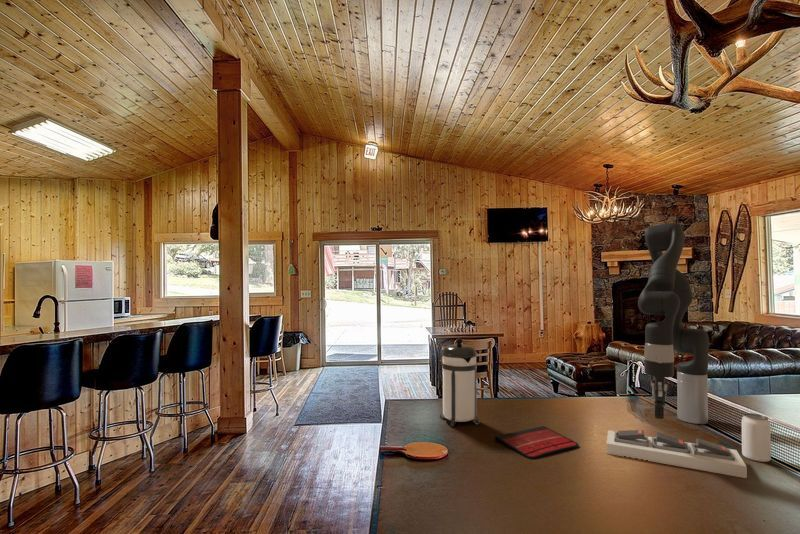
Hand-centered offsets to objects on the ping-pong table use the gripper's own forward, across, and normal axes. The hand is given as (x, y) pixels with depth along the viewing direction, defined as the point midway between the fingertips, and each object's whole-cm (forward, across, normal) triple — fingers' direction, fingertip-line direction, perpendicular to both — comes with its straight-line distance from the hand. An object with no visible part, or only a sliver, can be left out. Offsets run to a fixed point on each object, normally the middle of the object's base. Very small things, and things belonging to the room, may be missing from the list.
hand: (659, 417), depth 127 cm
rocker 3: (+6, 0, +13) cm, 14 cm away
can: (+11, -11, +25) cm, 29 cm away
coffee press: (+12, -1, -63) cm, 64 cm away
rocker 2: (+6, 0, +3) cm, 7 cm away
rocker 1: (+6, 0, -7) cm, 10 cm away
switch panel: (+11, 0, +3) cm, 11 cm away
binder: (+12, +8, -33) cm, 36 cm away
